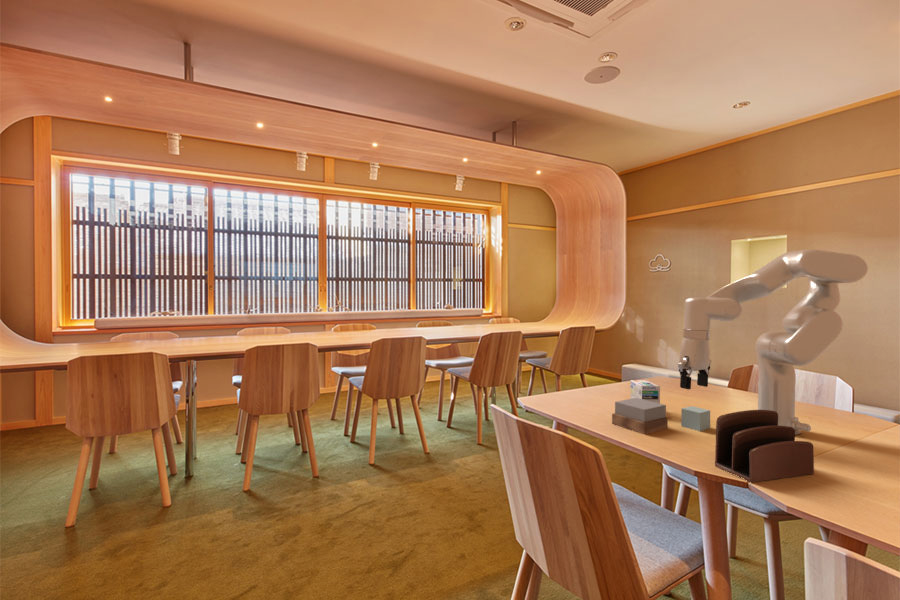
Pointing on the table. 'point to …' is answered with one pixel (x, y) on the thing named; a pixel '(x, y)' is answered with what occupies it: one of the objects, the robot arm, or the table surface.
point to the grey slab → (640, 409)
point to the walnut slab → (640, 424)
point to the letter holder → (760, 447)
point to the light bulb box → (645, 390)
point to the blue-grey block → (695, 418)
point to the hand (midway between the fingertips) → (694, 387)
